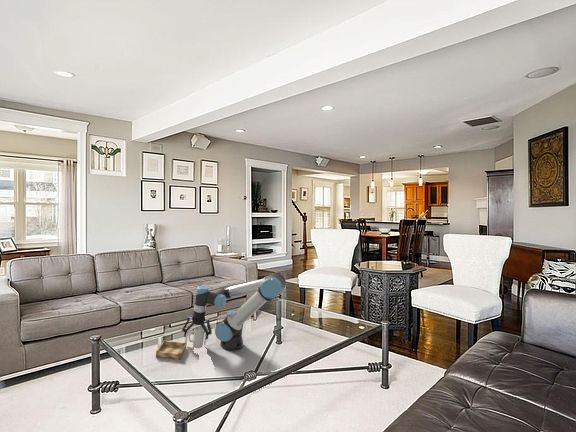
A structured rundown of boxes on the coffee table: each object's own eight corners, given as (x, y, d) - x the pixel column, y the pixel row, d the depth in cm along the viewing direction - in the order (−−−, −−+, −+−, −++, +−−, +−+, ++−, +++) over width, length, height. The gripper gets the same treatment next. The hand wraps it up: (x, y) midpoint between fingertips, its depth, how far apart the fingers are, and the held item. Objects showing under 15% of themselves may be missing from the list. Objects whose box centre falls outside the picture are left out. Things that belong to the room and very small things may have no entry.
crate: (185, 348, 220) (186, 342, 220) (180, 360, 206) (181, 353, 205) (163, 345, 219) (163, 339, 219) (155, 357, 205) (156, 350, 204)
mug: (202, 343, 229) (204, 326, 228) (203, 348, 223) (205, 330, 222) (186, 343, 226) (188, 326, 225) (187, 348, 220) (189, 330, 218)
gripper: (219, 310, 227) (214, 342, 229) (182, 306, 225) (178, 337, 227) (217, 315, 219) (212, 347, 221) (179, 310, 218) (175, 343, 220)
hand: (195, 342), depth 224 cm, fingers open, 11 cm apart
